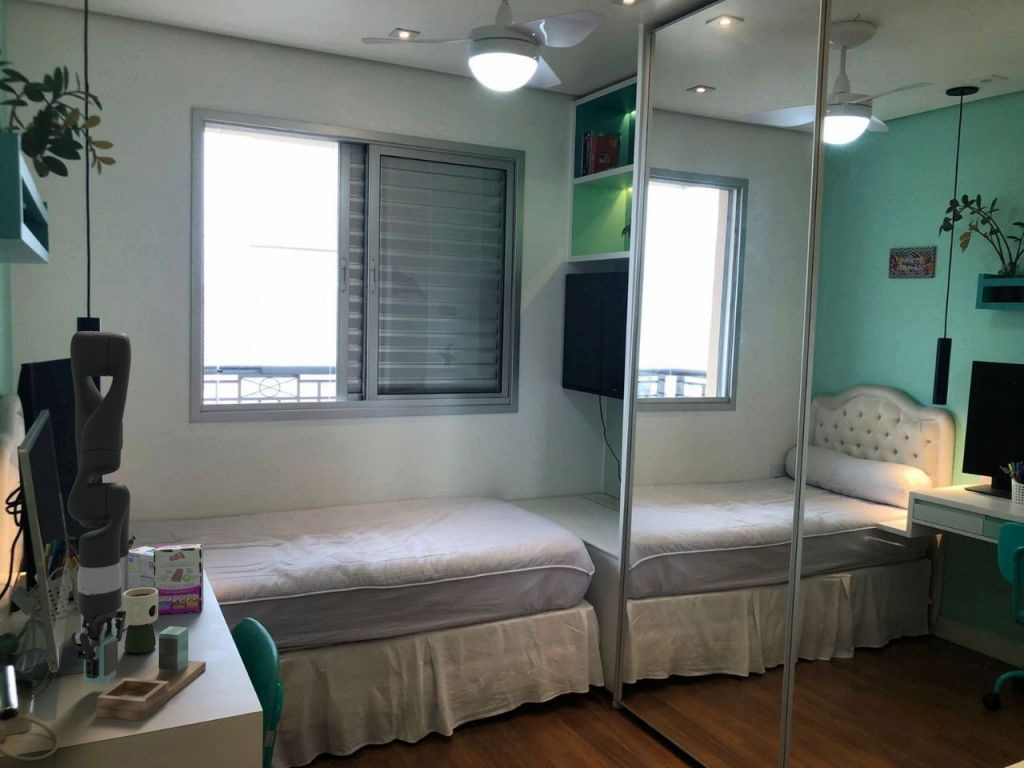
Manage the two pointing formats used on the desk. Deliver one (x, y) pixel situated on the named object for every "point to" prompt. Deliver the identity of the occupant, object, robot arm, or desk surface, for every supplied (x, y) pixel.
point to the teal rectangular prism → (105, 660)
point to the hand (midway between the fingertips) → (100, 671)
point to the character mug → (140, 619)
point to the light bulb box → (141, 567)
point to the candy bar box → (179, 578)
